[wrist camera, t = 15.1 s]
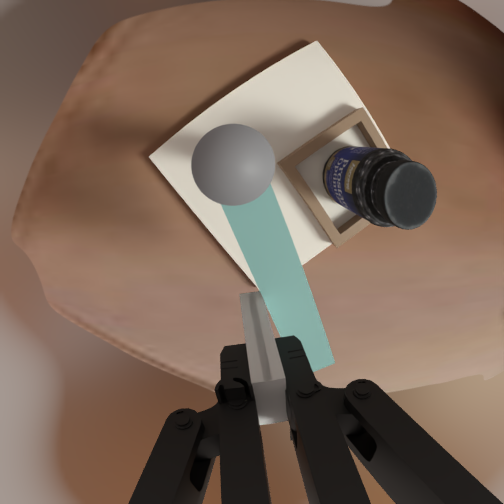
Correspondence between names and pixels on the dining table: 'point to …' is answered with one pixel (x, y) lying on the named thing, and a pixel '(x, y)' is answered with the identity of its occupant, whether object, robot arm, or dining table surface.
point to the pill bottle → (381, 186)
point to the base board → (283, 148)
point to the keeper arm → (261, 230)
